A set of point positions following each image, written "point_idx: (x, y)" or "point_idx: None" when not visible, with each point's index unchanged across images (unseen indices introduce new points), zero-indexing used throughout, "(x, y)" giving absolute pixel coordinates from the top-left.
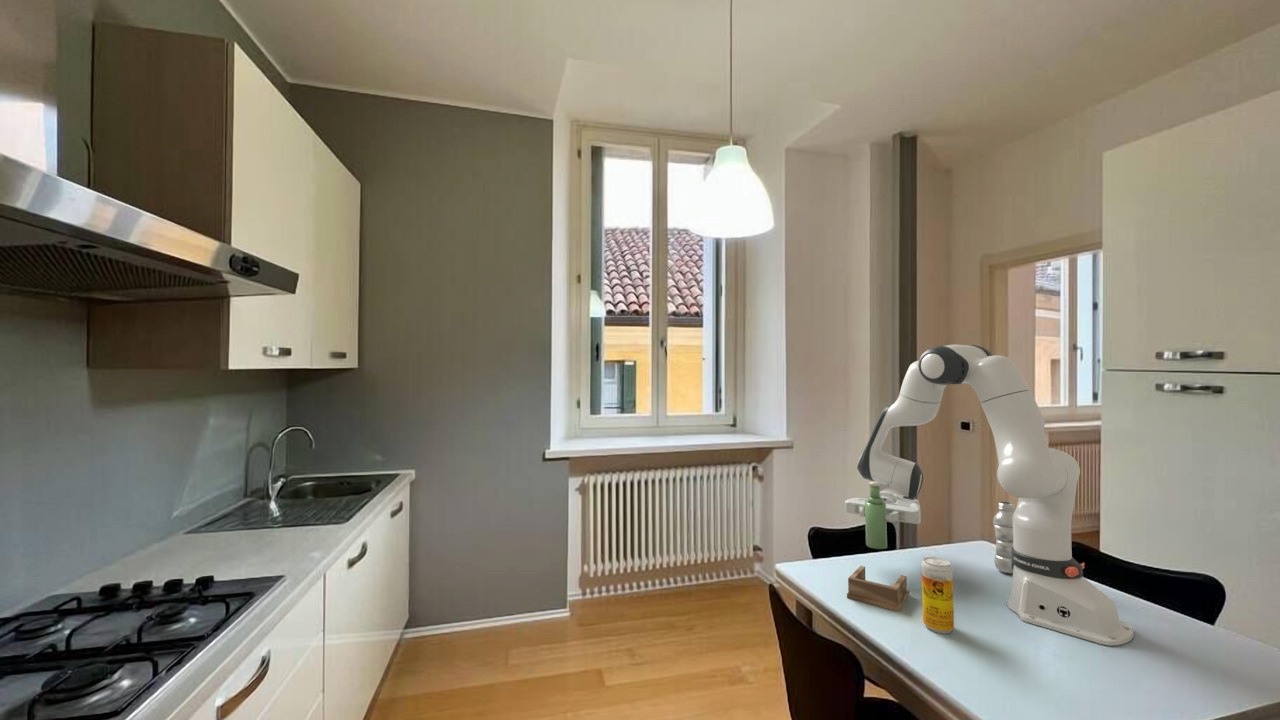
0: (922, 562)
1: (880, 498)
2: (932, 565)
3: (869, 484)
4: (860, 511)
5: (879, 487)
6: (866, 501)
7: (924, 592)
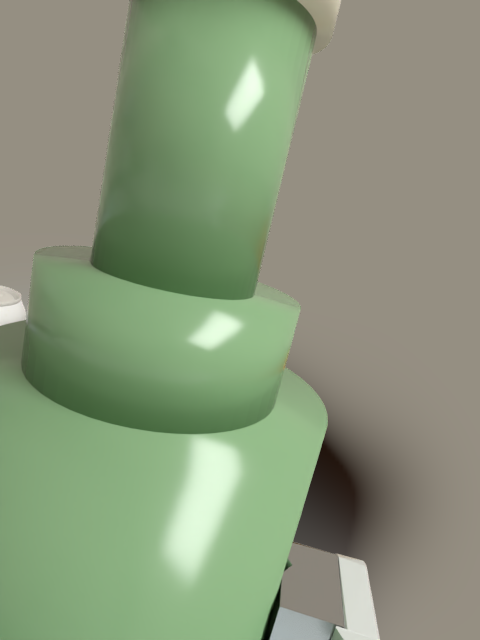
0: (21, 309)
1: (86, 253)
2: (7, 291)
3: (321, 38)
4: (346, 560)
5: (128, 32)
6: (311, 420)
7: None
